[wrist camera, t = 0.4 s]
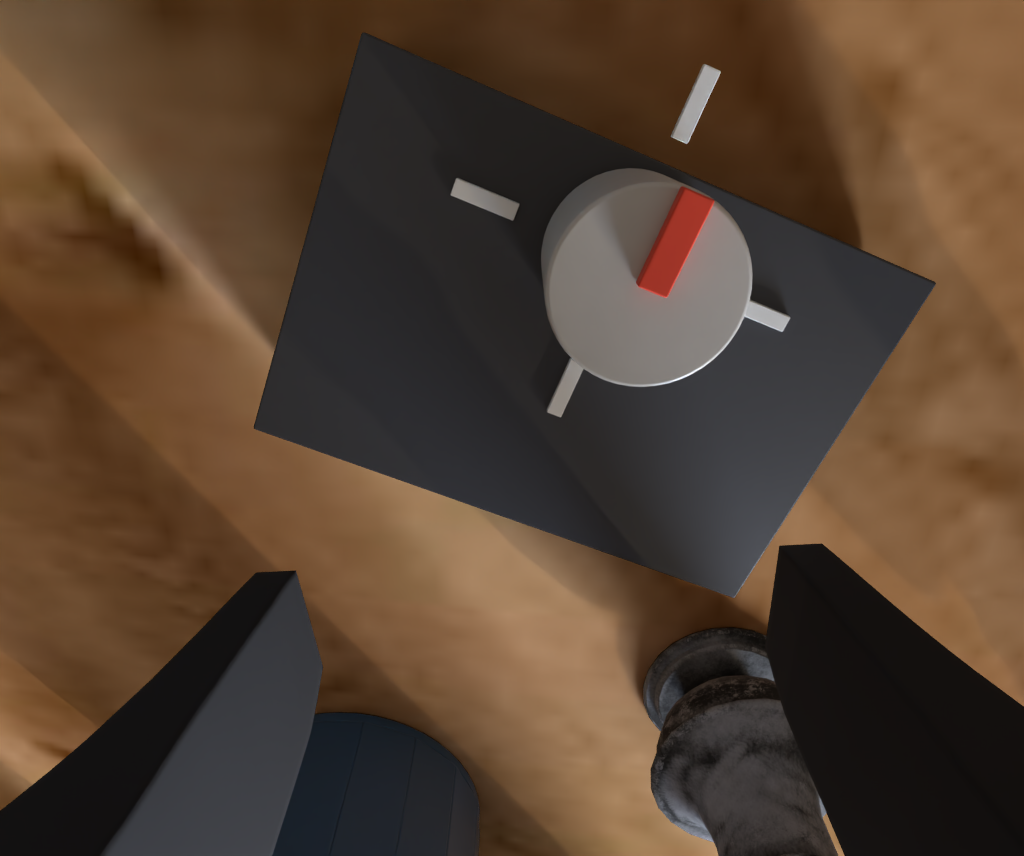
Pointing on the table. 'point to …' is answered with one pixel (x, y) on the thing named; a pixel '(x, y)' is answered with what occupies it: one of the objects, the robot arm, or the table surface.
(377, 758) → the pot
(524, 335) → the console
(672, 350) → the console knob
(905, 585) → the table surface
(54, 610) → the table surface
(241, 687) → the robot arm
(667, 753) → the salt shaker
